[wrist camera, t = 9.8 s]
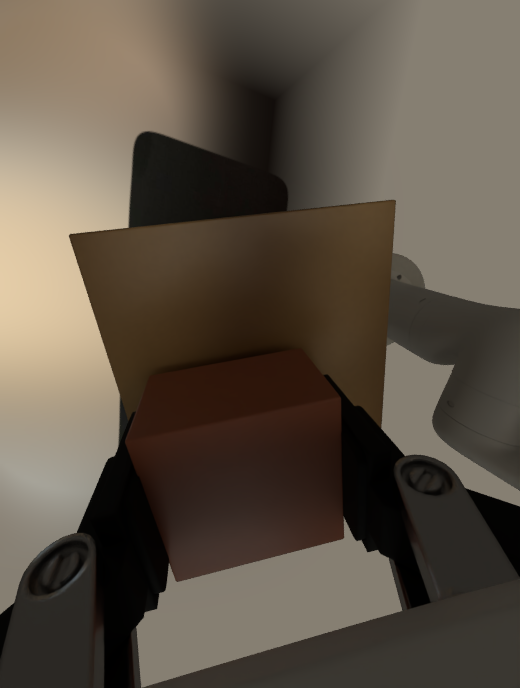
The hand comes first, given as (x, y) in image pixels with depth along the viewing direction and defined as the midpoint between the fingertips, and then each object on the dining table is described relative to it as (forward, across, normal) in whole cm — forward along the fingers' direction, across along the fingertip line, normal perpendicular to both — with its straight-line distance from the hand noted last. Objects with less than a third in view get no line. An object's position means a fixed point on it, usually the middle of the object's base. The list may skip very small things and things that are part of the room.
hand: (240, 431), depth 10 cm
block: (0, 0, 0) cm, 0 cm away
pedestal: (+42, -1, -2) cm, 42 cm away
